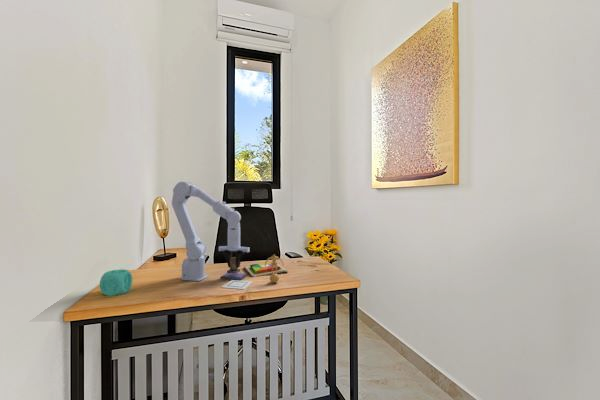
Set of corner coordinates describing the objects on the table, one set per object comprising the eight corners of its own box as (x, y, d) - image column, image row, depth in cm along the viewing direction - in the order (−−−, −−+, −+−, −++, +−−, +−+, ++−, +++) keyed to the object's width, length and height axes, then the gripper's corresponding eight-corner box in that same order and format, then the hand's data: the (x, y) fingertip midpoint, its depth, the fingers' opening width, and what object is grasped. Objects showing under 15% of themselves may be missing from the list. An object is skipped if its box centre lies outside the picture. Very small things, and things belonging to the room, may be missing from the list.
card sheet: (221, 287, 115) (221, 287, 115) (232, 280, 125) (232, 279, 125) (244, 289, 113) (244, 288, 113) (253, 281, 123) (253, 281, 123)
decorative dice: (112, 289, 113) (111, 269, 113) (132, 288, 113) (132, 269, 113) (99, 296, 105) (99, 275, 105) (121, 295, 105) (121, 274, 105)
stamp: (226, 273, 127) (226, 258, 127) (231, 270, 131) (231, 256, 131) (235, 273, 126) (235, 259, 126) (240, 271, 130) (240, 257, 130)
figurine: (264, 284, 119) (265, 256, 119) (264, 280, 125) (264, 253, 125) (284, 283, 121) (284, 256, 120) (283, 279, 127) (283, 253, 126)
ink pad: (220, 279, 127) (220, 276, 127) (227, 274, 133) (227, 272, 133) (240, 280, 125) (240, 277, 125) (247, 276, 131) (247, 273, 131)
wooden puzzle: (243, 268, 146) (243, 262, 146) (277, 265, 153) (277, 259, 153) (250, 278, 130) (250, 270, 130) (288, 274, 137) (288, 266, 137)
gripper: (215, 238, 126) (215, 268, 126) (245, 239, 123) (245, 270, 123) (222, 236, 133) (222, 264, 133) (251, 237, 130) (251, 266, 130)
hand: (234, 267), depth 129 cm, fingers closed on stamp, 3 cm apart
